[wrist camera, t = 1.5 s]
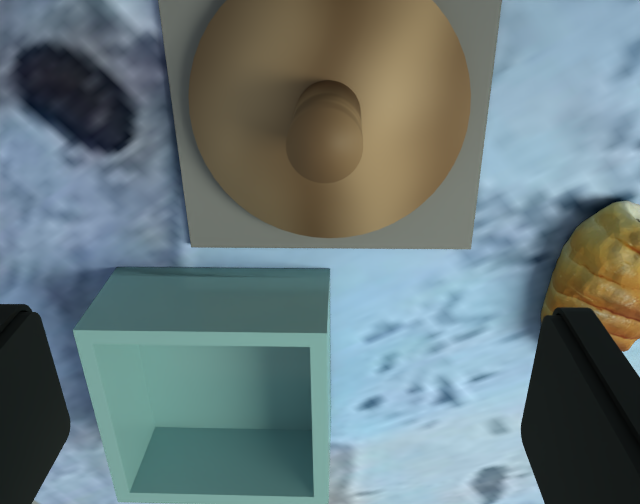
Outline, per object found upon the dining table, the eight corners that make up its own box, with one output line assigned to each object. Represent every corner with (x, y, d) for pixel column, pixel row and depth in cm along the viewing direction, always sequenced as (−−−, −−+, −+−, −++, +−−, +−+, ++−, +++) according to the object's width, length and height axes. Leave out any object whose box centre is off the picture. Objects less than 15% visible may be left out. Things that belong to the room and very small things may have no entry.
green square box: (329, 268, 32) (326, 333, 27) (330, 427, 38) (328, 507, 32) (116, 267, 33) (72, 330, 27) (149, 424, 38) (118, 501, 33)
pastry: (608, 358, 35) (635, 403, 31) (505, 325, 34) (522, 368, 30) (706, 224, 30) (751, 260, 27) (591, 183, 29) (623, 215, 26)
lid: (483, -48, 24) (520, -45, 19) (453, 232, 30) (475, 291, 25) (175, -43, 25) (130, -39, 20) (207, 230, 31) (180, 288, 26)
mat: (508, -75, 24) (511, -76, 24) (469, 245, 31) (470, 249, 31) (151, -70, 25) (148, -70, 24) (192, 243, 32) (191, 247, 31)
